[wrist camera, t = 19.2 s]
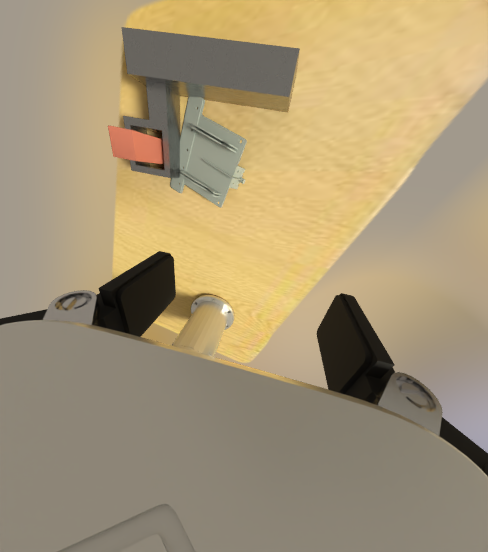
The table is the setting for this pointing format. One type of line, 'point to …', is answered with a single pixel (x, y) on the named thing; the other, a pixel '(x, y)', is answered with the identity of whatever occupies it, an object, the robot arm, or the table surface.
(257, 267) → the table surface
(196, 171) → the metal bracket
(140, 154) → the red rectangular block
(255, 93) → the grey socket fixture
